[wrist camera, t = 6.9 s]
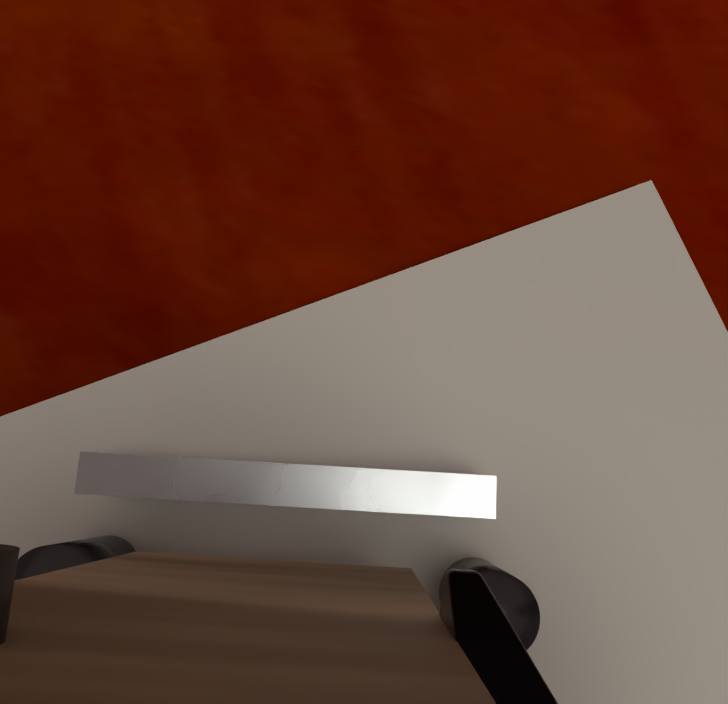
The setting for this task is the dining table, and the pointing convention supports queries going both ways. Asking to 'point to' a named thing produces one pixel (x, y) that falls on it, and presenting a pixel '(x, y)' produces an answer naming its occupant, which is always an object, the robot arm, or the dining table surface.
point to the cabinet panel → (458, 441)
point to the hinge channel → (290, 490)
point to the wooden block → (225, 634)
